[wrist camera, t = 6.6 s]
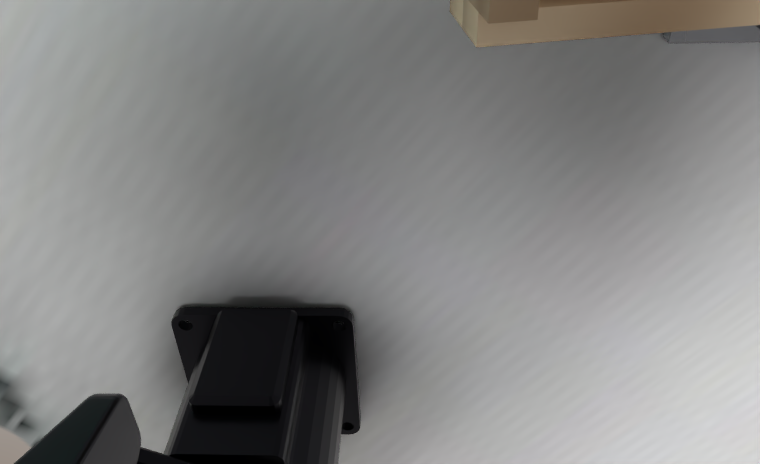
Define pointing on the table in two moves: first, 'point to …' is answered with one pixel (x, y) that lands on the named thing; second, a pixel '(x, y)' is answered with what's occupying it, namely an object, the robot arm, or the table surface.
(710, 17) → the lever
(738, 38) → the stand
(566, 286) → the table surface
